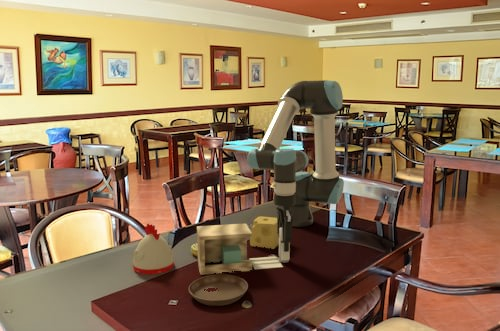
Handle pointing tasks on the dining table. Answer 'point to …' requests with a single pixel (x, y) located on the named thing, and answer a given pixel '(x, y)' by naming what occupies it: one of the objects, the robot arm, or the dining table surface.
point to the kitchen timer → (152, 253)
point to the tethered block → (234, 253)
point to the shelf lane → (212, 243)
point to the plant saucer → (226, 284)
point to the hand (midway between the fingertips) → (284, 257)
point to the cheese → (264, 232)
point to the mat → (266, 263)
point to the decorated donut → (194, 249)
